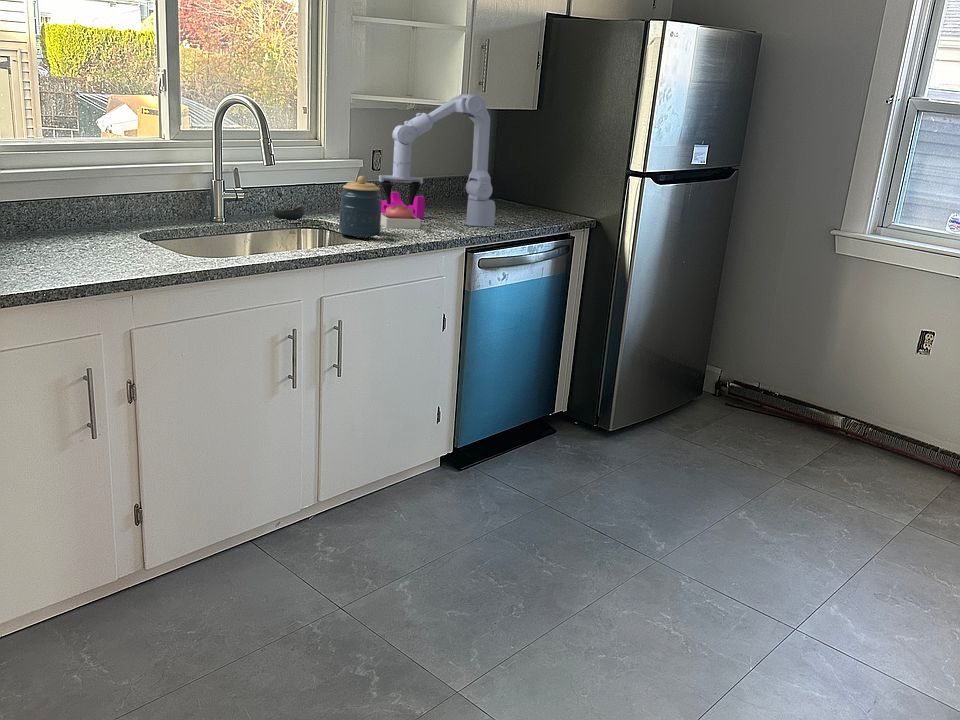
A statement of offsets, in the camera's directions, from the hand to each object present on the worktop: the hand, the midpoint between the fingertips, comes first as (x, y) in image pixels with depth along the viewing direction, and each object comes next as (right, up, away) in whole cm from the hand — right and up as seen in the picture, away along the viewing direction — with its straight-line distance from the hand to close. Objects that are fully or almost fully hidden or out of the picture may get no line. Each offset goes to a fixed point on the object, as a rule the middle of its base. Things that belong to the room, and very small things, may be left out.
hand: (399, 204), depth 293 cm
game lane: (+9, -5, +11) cm, 15 cm away
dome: (0, -7, +2) cm, 7 cm away
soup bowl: (-38, -6, +5) cm, 39 cm away
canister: (-11, -13, -20) cm, 26 cm away
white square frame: (0, -7, +2) cm, 7 cm away
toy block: (-1, -1, +20) cm, 20 cm away
